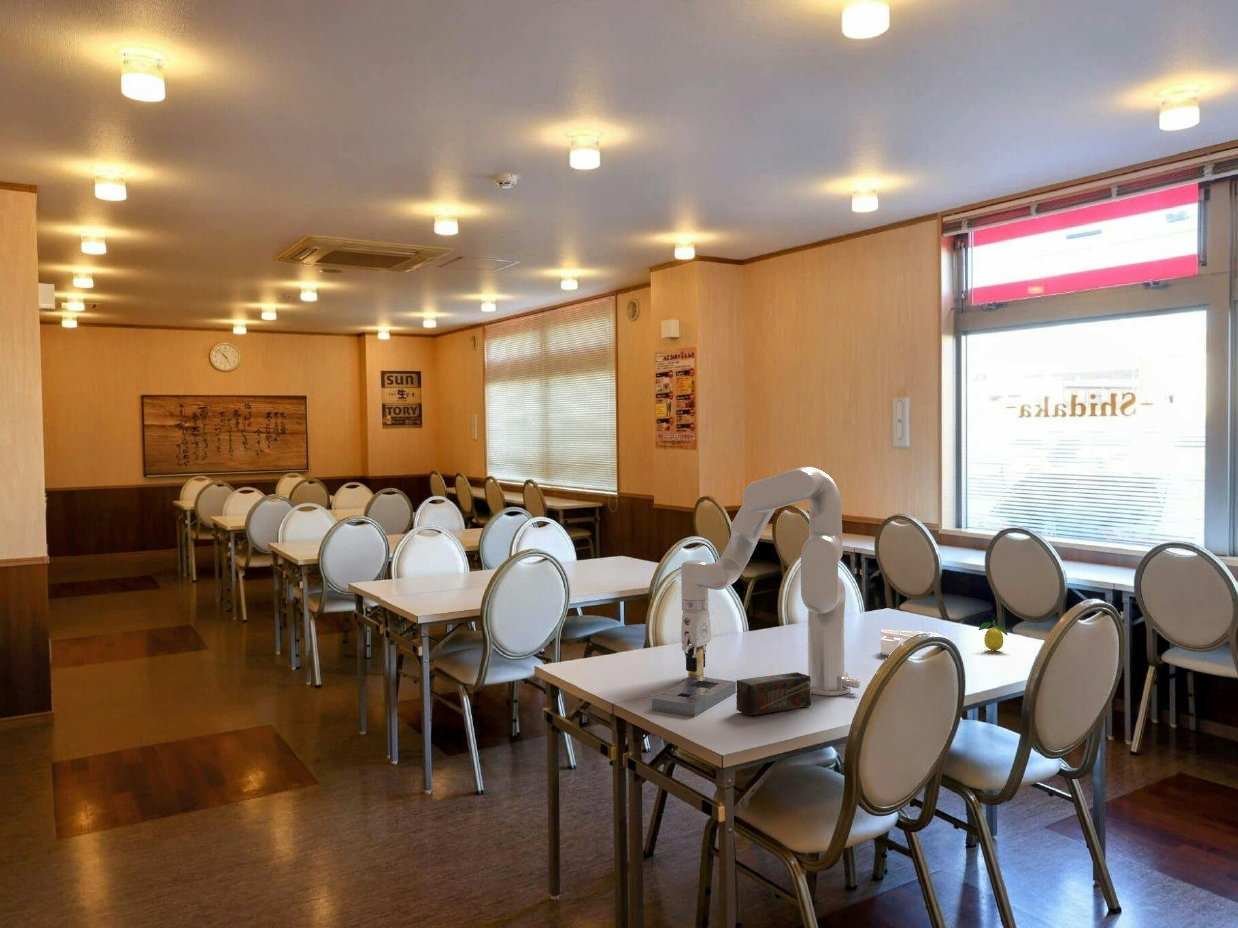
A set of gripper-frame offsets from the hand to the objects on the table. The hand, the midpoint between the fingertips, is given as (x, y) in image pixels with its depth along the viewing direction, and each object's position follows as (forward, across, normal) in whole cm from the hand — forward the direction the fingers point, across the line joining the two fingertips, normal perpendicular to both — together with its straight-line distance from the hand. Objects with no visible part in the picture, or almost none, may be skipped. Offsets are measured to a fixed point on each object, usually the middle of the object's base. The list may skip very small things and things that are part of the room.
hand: (695, 668), depth 258 cm
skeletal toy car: (+3, +52, -47) cm, 70 cm away
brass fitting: (+3, 0, 0) cm, 3 cm away
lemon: (+3, +71, -67) cm, 98 cm away
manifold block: (+3, -20, -10) cm, 23 cm away
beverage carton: (+4, -24, -25) cm, 35 cm away
